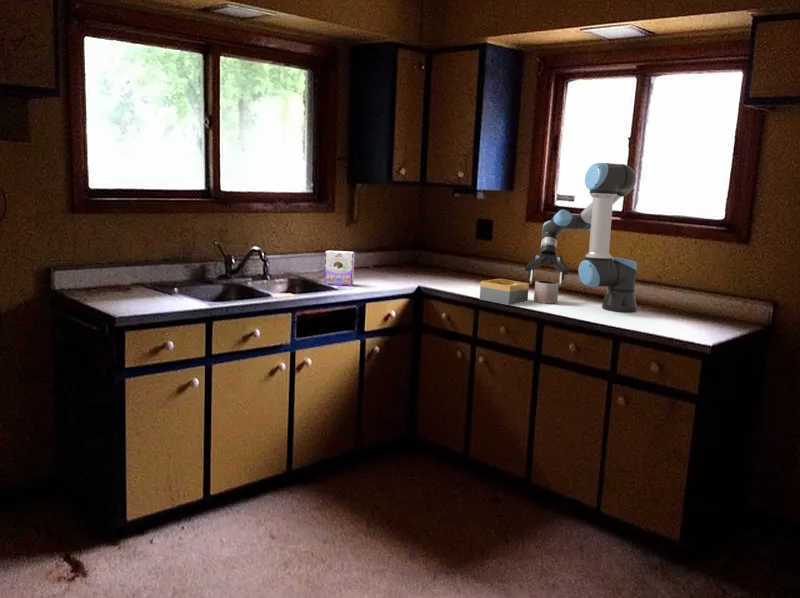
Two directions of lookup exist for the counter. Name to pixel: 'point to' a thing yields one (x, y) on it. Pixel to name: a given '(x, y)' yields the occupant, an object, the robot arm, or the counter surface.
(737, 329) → the counter surface
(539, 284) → the planter
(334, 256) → the candy box
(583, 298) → the counter surface
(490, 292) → the square cup holder
